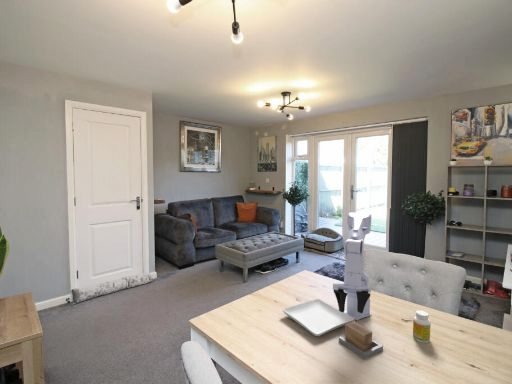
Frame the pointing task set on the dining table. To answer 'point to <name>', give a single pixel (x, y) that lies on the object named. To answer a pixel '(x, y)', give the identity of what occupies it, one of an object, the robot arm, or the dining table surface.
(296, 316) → the salad plate
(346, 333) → the tan cardboard box
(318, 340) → the dining table surface
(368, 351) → the bay
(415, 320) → the supplement bottle
